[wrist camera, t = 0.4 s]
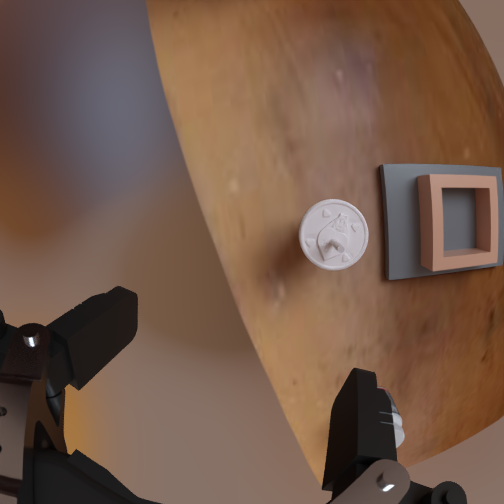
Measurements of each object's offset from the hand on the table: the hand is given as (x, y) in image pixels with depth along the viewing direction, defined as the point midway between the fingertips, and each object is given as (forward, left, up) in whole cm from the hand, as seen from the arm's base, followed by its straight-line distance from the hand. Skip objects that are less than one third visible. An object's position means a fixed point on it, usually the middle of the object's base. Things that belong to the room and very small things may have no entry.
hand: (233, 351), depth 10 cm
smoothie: (-3, +6, -27) cm, 28 cm away
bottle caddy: (-6, +23, -27) cm, 36 cm away
